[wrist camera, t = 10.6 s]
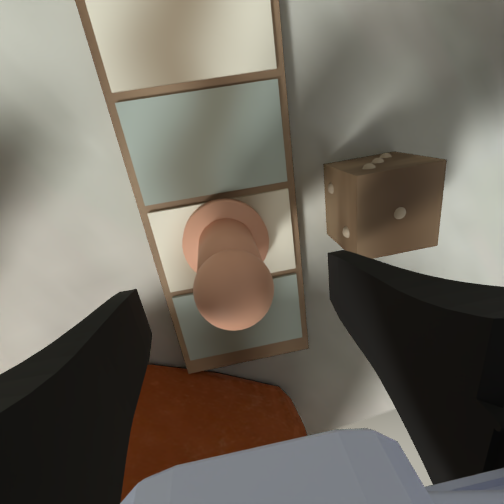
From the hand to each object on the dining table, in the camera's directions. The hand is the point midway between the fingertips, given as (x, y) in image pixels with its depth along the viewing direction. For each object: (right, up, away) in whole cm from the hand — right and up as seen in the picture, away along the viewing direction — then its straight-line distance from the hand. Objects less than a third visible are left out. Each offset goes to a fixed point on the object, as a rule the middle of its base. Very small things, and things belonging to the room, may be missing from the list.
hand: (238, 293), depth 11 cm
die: (+7, +5, +6) cm, 10 cm away
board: (-1, +5, +5) cm, 7 cm away
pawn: (-1, +2, +5) cm, 5 cm away
